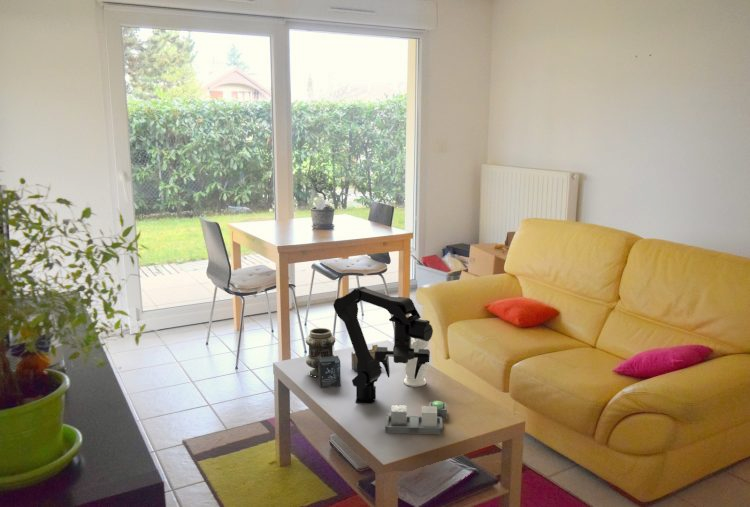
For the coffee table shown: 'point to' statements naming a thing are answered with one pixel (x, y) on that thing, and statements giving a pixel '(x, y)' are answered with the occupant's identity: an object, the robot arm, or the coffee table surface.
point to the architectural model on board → (354, 358)
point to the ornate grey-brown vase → (319, 347)
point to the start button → (438, 404)
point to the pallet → (418, 423)
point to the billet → (399, 415)
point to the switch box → (441, 411)
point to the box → (329, 371)
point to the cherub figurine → (411, 366)
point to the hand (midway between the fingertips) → (401, 377)
